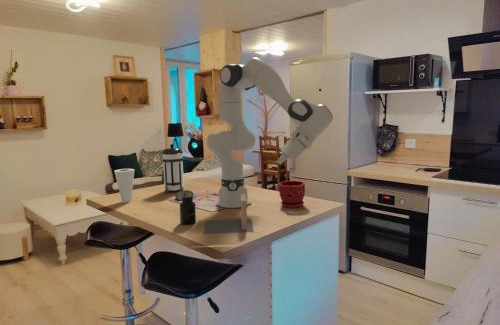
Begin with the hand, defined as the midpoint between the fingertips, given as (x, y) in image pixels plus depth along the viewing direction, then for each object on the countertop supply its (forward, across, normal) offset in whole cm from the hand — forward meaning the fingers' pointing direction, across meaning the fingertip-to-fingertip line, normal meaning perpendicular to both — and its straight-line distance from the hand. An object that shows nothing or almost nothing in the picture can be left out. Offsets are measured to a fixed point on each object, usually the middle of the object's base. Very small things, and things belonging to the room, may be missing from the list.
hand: (278, 163), depth 141 cm
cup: (+75, -51, -38) cm, 98 cm away
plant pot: (+11, -30, +26) cm, 42 cm away
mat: (+34, 0, +4) cm, 34 cm away
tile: (+29, 0, +8) cm, 30 cm away
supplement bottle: (+47, -8, -9) cm, 48 cm away
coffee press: (+58, -74, -21) cm, 97 cm away
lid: (+52, -54, -15) cm, 76 cm away
